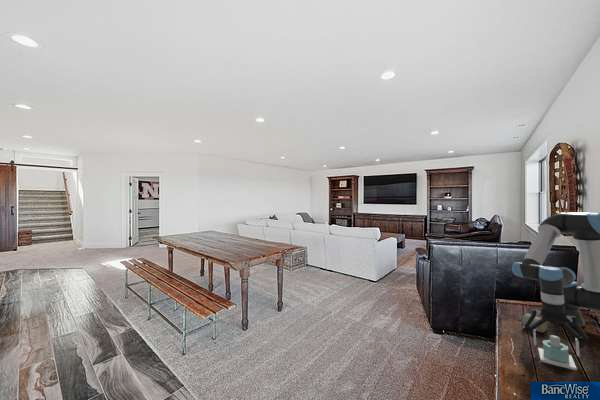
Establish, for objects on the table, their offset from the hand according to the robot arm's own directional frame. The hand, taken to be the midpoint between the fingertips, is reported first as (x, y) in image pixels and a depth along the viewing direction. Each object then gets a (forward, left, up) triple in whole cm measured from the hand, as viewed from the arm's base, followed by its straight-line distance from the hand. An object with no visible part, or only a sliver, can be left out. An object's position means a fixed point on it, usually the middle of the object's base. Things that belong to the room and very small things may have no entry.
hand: (555, 349), depth 114 cm
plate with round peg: (0, 0, -4) cm, 4 cm away
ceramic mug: (-16, -26, -5) cm, 31 cm away
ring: (0, 0, -3) cm, 3 cm away
